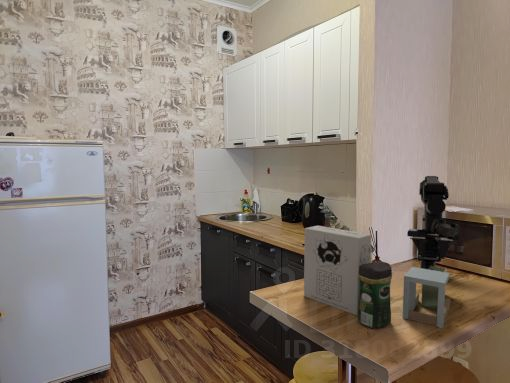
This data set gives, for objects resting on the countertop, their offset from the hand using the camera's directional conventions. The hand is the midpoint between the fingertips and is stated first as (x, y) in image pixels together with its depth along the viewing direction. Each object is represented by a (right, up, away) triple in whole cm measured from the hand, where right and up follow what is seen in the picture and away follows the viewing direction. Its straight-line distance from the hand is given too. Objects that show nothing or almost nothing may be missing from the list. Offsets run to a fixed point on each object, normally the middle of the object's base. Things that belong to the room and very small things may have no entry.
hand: (432, 258), depth 127 cm
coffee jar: (-29, -15, -23) cm, 40 cm away
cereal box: (-38, -14, -8) cm, 41 cm away
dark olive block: (-3, -14, -6) cm, 15 cm away
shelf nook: (-10, -14, -16) cm, 24 cm away
